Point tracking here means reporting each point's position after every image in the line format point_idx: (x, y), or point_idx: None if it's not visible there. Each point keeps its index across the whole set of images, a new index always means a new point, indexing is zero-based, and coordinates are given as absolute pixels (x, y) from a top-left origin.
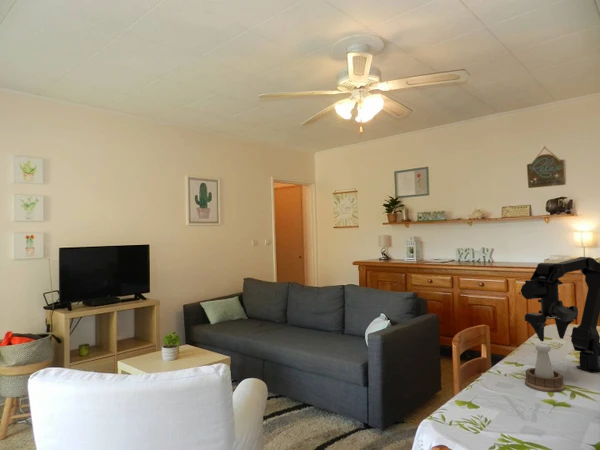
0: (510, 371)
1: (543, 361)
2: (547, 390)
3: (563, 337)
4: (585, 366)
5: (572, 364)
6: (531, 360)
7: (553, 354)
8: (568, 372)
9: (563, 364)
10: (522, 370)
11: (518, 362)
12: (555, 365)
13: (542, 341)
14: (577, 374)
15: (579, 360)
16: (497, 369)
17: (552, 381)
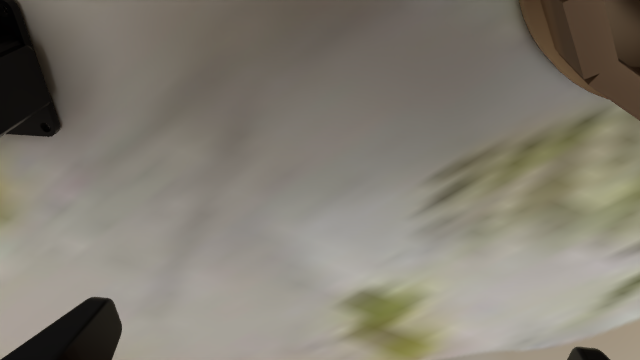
0: (557, 260)
1: None
2: None
3: (75, 308)
4: (19, 60)
5: (44, 181)
6: (241, 316)
7: (43, 320)
8: (191, 86)
9: (103, 204)
10: (463, 240)
11: (344, 326)
12: (169, 212)
13: (591, 350)
14: (158, 25)
15: (12, 127)
16: (590, 311)
17: None
